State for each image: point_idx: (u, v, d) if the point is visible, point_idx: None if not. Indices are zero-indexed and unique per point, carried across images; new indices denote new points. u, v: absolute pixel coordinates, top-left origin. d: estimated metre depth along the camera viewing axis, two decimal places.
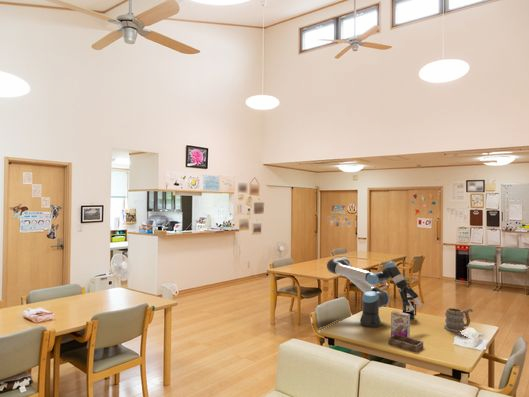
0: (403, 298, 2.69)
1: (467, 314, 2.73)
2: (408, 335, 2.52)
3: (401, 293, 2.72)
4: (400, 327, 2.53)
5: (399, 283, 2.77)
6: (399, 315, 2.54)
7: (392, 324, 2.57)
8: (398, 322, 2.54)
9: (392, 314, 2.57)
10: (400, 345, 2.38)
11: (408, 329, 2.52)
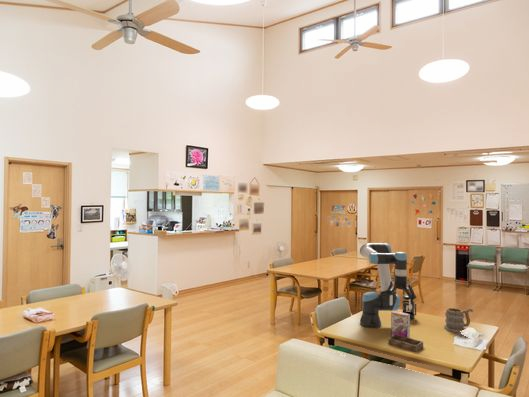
0: None
1: (467, 314, 2.73)
2: (408, 335, 2.52)
3: None
4: (400, 327, 2.53)
5: None
6: (399, 315, 2.54)
7: (392, 324, 2.57)
8: (398, 322, 2.54)
9: (392, 314, 2.57)
10: (400, 345, 2.38)
11: (408, 329, 2.52)
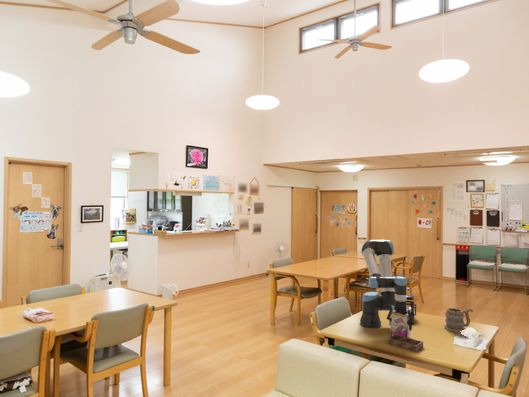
0: None
1: (467, 314, 2.73)
2: None
3: None
4: (400, 327, 2.53)
5: None
6: (399, 315, 2.54)
7: (392, 324, 2.57)
8: (398, 322, 2.54)
9: (392, 314, 2.57)
10: (400, 345, 2.38)
11: None
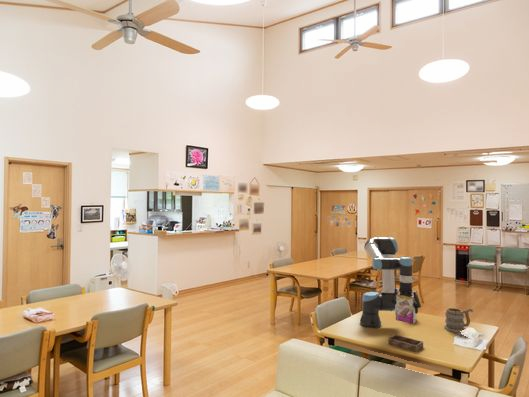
0: None
1: (467, 314, 2.73)
2: None
3: None
4: (406, 310, 2.39)
5: None
6: (404, 297, 2.40)
7: (397, 307, 2.42)
8: (403, 305, 2.40)
9: (397, 297, 2.43)
10: (400, 345, 2.38)
11: None
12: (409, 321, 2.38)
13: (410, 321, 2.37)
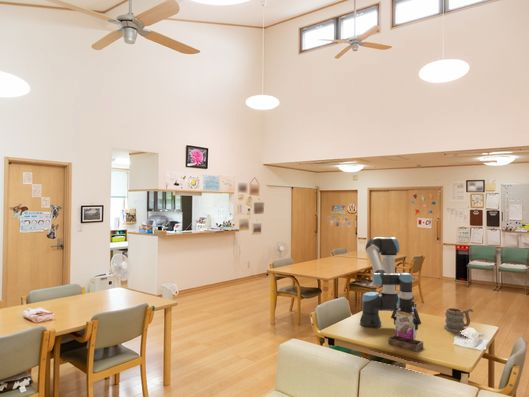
0: None
1: (467, 314, 2.73)
2: (414, 335, 2.37)
3: None
4: (406, 327, 2.38)
5: None
6: (404, 314, 2.39)
7: (397, 323, 2.42)
8: (403, 321, 2.39)
9: (397, 313, 2.42)
10: (400, 345, 2.38)
11: None
12: (409, 338, 2.37)
13: (410, 337, 2.37)
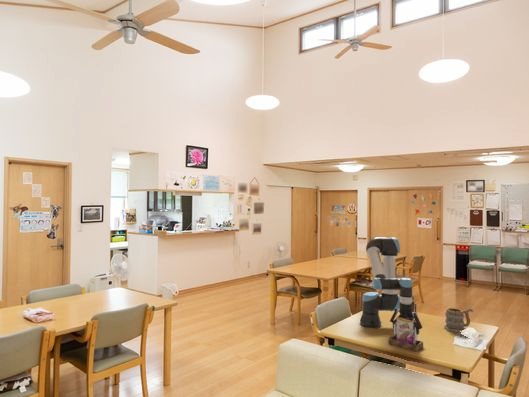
0: None
1: (467, 314, 2.73)
2: (414, 342, 2.37)
3: None
4: (406, 333, 2.38)
5: None
6: (405, 320, 2.39)
7: (397, 330, 2.42)
8: (404, 327, 2.39)
9: (397, 319, 2.42)
10: (400, 345, 2.38)
11: (414, 335, 2.37)
12: None
13: None
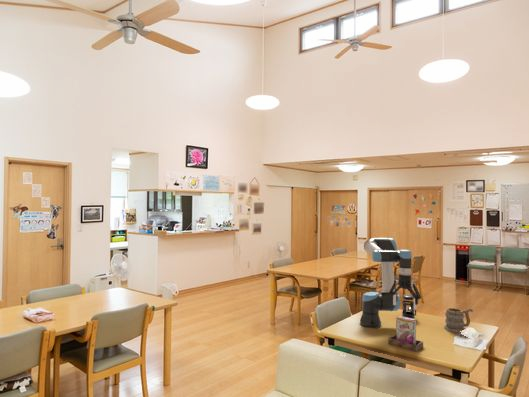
0: None
1: (467, 314, 2.73)
2: (414, 342, 2.37)
3: None
4: (406, 333, 2.38)
5: None
6: (405, 320, 2.39)
7: (397, 330, 2.42)
8: (404, 327, 2.39)
9: (397, 319, 2.42)
10: (400, 345, 2.38)
11: (414, 335, 2.37)
12: None
13: None
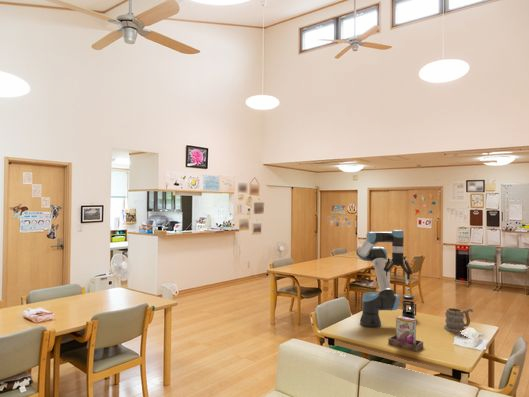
0: None
1: (467, 314, 2.73)
2: (414, 342, 2.37)
3: None
4: (406, 333, 2.38)
5: None
6: (405, 320, 2.39)
7: (397, 330, 2.42)
8: (404, 327, 2.39)
9: (397, 319, 2.42)
10: (400, 345, 2.38)
11: (414, 335, 2.37)
12: None
13: None
